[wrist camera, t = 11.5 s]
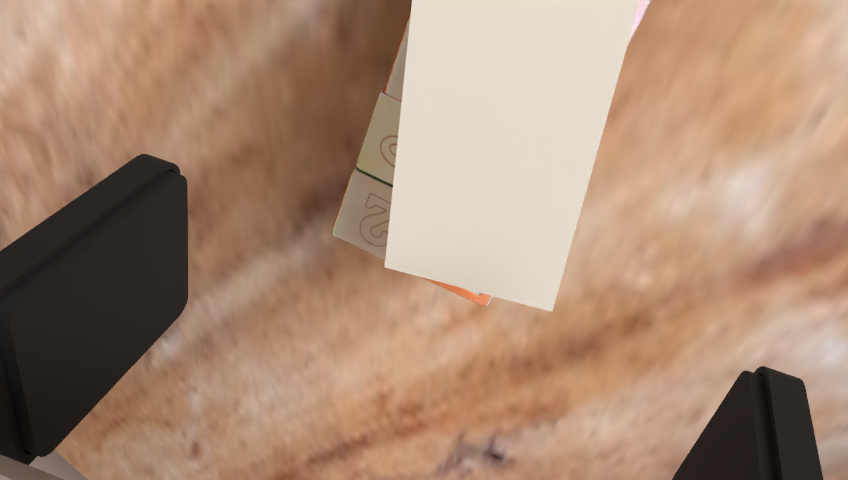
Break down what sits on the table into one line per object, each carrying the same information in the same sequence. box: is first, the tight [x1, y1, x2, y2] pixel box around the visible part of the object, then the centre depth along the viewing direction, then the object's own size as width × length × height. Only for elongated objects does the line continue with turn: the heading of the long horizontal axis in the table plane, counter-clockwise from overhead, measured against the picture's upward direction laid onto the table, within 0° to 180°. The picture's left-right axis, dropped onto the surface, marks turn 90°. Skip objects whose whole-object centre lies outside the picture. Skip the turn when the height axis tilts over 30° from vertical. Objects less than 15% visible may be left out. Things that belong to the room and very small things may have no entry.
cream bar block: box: [385, 0, 640, 312], centre depth 18 cm, size 4×9×5 cm, turn 172°
